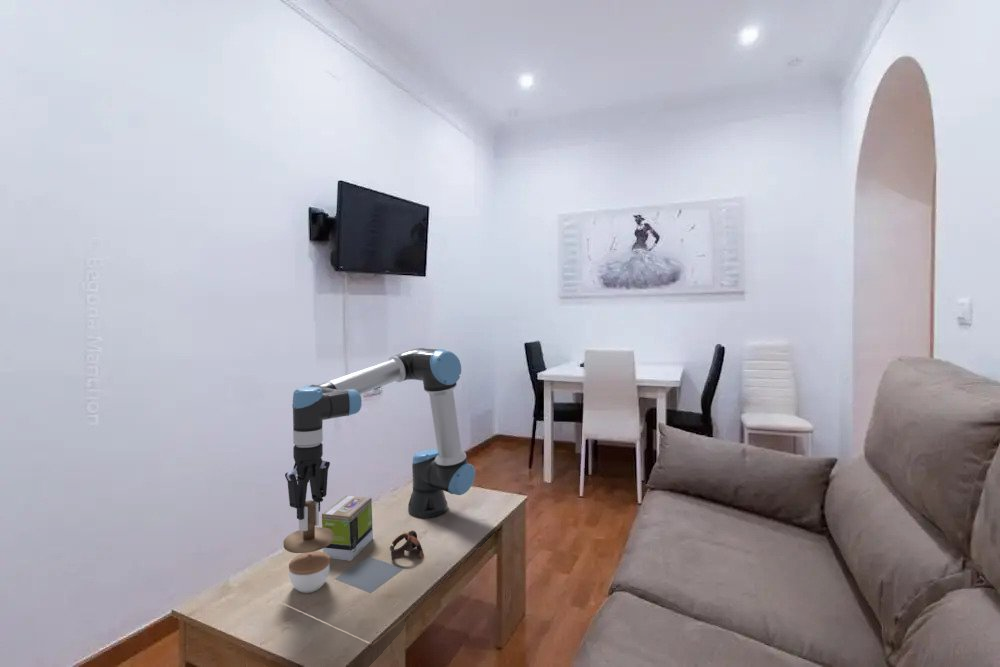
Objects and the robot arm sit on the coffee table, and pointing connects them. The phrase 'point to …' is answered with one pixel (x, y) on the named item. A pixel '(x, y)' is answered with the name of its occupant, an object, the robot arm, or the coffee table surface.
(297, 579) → the lidded jar
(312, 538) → the tan wooden handled piece
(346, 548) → the tea box
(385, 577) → the mat
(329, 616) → the coffee table surface
